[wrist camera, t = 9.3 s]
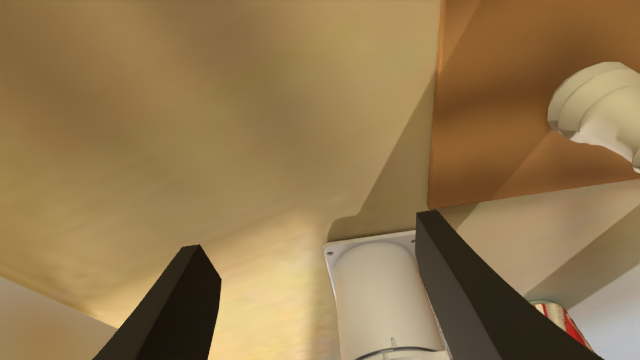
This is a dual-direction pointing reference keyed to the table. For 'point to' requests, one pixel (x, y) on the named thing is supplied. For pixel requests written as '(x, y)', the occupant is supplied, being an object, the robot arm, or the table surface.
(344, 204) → the table surface
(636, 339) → the table surface
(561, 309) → the soda can
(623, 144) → the rook chess piece
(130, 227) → the table surface
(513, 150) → the brown wooden board
